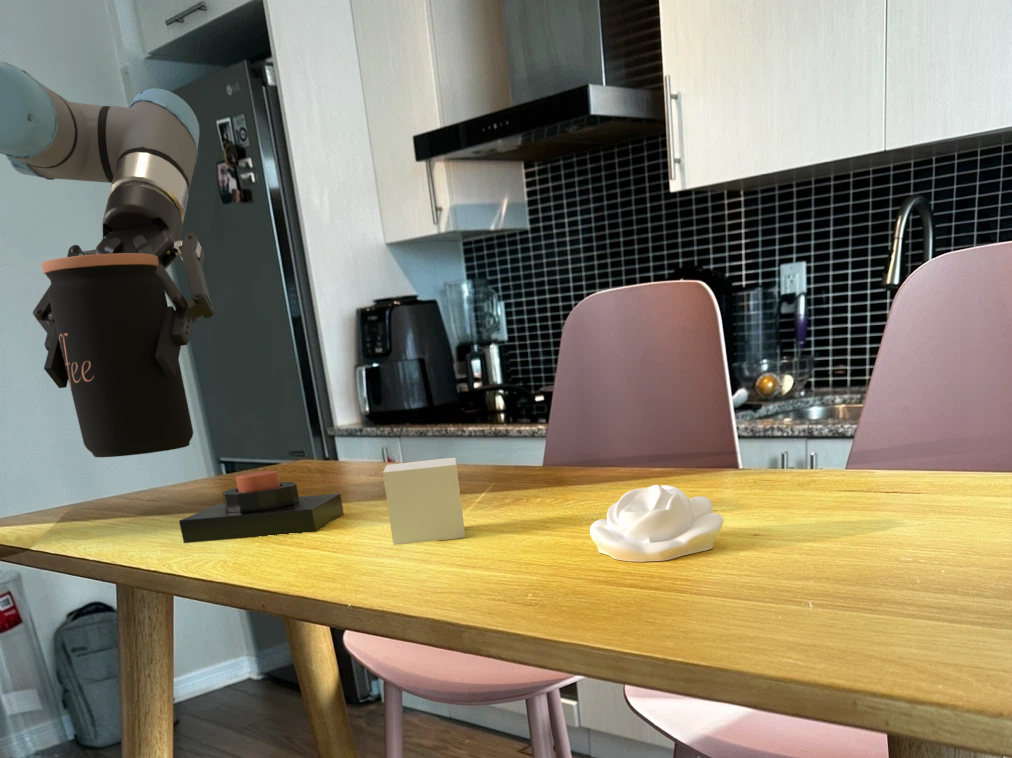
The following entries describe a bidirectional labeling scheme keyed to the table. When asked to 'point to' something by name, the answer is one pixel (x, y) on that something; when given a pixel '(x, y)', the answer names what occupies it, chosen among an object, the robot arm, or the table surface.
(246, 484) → the button
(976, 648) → the table surface
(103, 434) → the coffee jar
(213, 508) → the control block
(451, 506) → the beige cube
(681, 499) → the rose
